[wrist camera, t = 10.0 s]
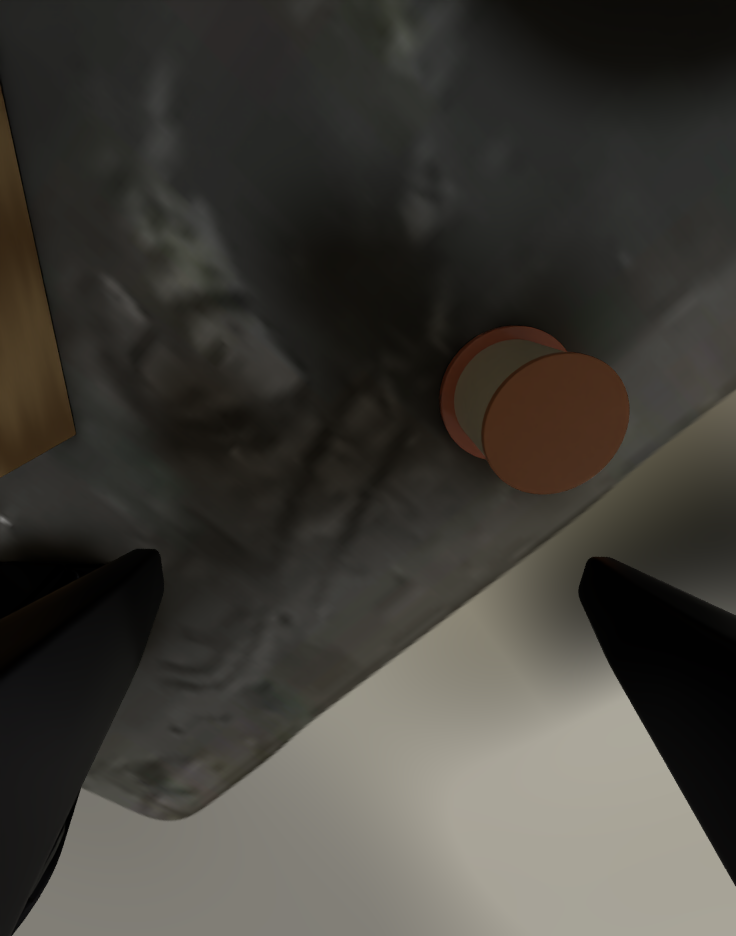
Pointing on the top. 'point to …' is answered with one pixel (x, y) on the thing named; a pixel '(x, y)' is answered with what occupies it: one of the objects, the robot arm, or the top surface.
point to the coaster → (461, 362)
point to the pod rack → (25, 331)
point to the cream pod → (542, 414)
